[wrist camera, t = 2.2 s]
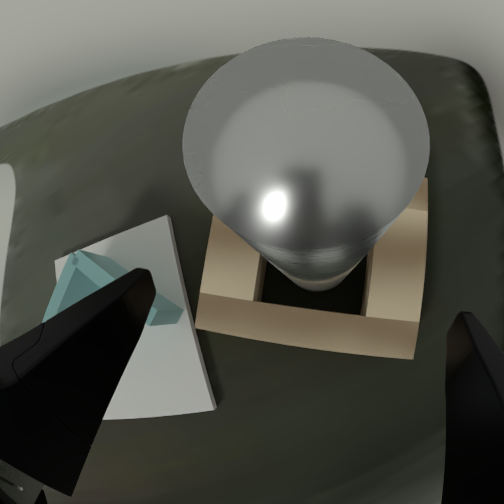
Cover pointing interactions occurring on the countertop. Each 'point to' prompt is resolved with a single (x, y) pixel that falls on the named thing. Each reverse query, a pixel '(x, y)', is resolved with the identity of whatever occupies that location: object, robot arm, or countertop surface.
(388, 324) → the wooden frame
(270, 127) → the silver metal cylinder
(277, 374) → the countertop surface
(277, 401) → the countertop surface
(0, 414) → the robot arm
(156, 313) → the plate with teal chevron
